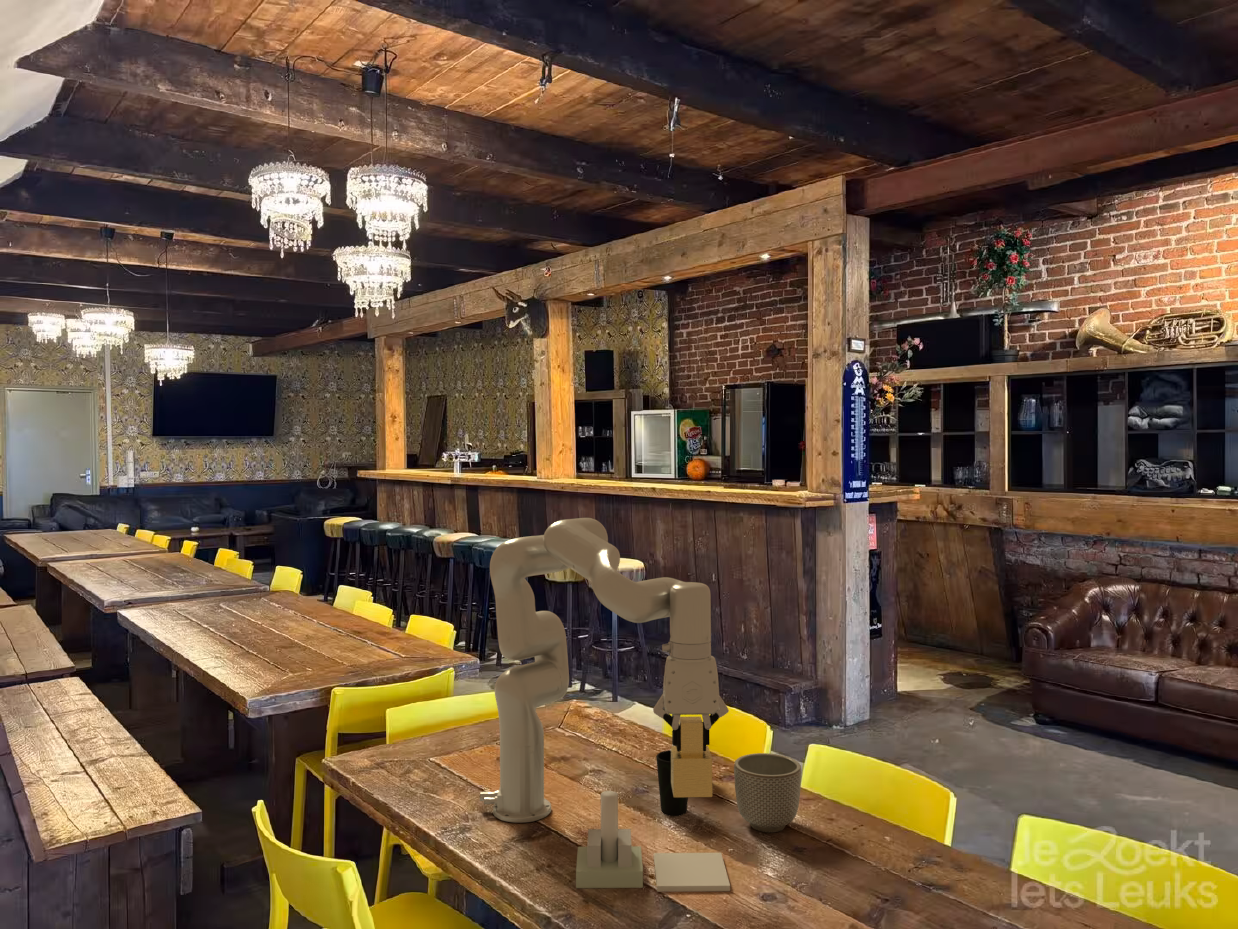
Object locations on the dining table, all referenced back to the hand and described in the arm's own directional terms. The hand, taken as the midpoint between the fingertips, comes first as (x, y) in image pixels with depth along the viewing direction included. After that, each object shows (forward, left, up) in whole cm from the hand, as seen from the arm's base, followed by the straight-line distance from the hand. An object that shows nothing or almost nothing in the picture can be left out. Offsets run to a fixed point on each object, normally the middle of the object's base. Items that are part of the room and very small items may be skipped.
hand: (691, 748), depth 166 cm
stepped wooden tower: (0, 0, -8) cm, 8 cm away
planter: (+18, +21, -24) cm, 36 cm away
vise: (-15, 0, -24) cm, 28 cm away
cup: (-1, +29, -24) cm, 38 cm away
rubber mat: (0, 0, -24) cm, 24 cm away
